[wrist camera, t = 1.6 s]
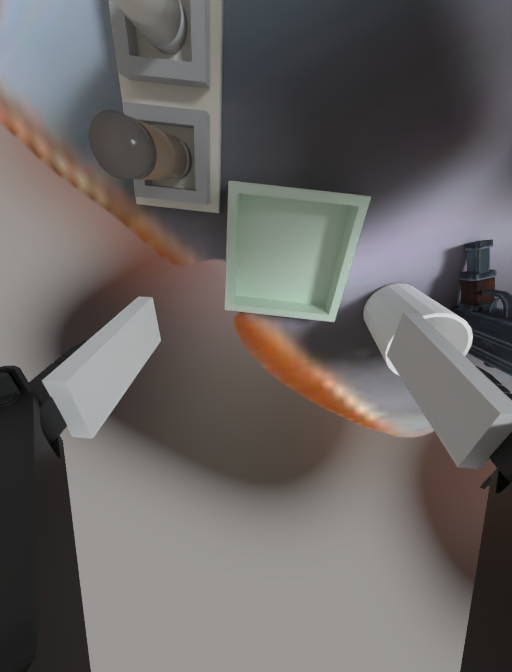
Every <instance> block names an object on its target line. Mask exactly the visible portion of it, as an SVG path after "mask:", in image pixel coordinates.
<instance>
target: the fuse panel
mask: <svg viewBox="0 0 512 672" xmlns="http://www.w3.org/2000/svg"><path fill="white" fill-rule="evenodd" d="M180 2H181V4H182V6H183V8H184V11H185V14H186V18H187V36H186V40H185V43H184V45H183V46H182V48H181V49H180V50H179V51H178V52H176V53H174V54H164V53H162V52H160V51H159V50H157V49H156V48H155V47H154V45H153V44H152V43H151V42H150V41H149V40H148V39H147V38H146V37H145V36H144V35H143V34H142V33H141V32H140V31H139V30H138V29H137V28H136V26H135V25H134V24H133V23H132V22H131V21H130V20H129V19H128V18H127V17H126V15H125V14H124V13H123V12H122V11H121V10H120V9H119V8H118V7H117V5H116V4H115V3H114V2H113V1H112V0H108V3H109V10H110V18H111V25H112V32H113V39H114V46H115V53H116V61H117V68H118V75H119V82H120V89H121V96H122V103H123V111H124V114H125V115H127V116H130V117H133V118H136V119H138V120H140V121H142V122H145V123H147V124H149V125H152V126H154V127H156V128H158V129H161V130H163V131H165V132H167V133H170V134H172V135H174V136H175V137H177V138H179V139H181V140H182V141H183V142H184V143H185V144H186V145H187V146H188V148H189V150H190V153H191V157H192V166H191V169H190V172H189V173H188V174H187V175H186V176H185V177H184V178H182V179H174V180H133V182H134V189H135V197H136V204H140V205H149V206H158V207H167V208H176V209H185V210H194V211H203V212H212V213H220V189H221V128H222V67H223V6H224V0H180Z"/></svg>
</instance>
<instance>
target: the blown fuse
mask: <svg viewBox="0 0 512 672" xmlns="http://www.w3.org/2000/svg"><path fill="white" fill-rule="evenodd" d="M89 136H90V144H91V148H92V151H93V154H94V156H95V158H96V159H97V161H98V163H99V164H100V165H101V166H102V168H103V169H104V170H105V171H107V172H108V173H109V174H111V175H112V176H114V177H116V178H119V179H133V180H174V179H182V178H184V177H185V176H186V175H187V174H188V173H189V172H190V169H191V166H192V157H191V153H190V150H189V148H188V146H187V145H186V144H185V143H184V142H183V141H182V140H181V139H179V138H177V137H175V136H174V135H172V134H170V133H167V132H165V131H163V130H161V129H158V128H156V127H154V126H152V125H149V124H147V123H145V122H142V121H140V120H138V119H136V118H133V117H130V116H127V115H125V114H122V113H120V112H117V111H113V110H107V111H103V112H101V113H99V114H98V115H97V116H96V117H95V118H94V119H93V121H92V124H91V127H90V134H89Z"/></svg>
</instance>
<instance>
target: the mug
mask: <svg viewBox="0 0 512 672" xmlns="http://www.w3.org/2000/svg"><path fill="white" fill-rule="evenodd" d="M403 312H411V313H419V314H420V315H421V316H422V317H423V318H424V319H425V320H426V321H428V322H429V323H430V324H431V325H432V326H433V327H434V328H435V329H436V330H437V331H438V332H439V333H440V334H441V335H442V336H444V337H445V338H446V339H447V340H448V341H449V342H450V343H451V344H452V345H453V346H454V347H455V348H456V349H457V350H458V351H460V352H461V353H462V354H463V355H464V356H466V355H467V353H468V351H469V349H470V347H471V345H472V340H473V334H472V329H471V327H470V325H469V324H468V323H467V321H466V320H464V319H463V318H461V317H460V316H458V315H456V314H455V313H453V312H452V311H450V310H449V309H447V308H445V307H444V306H442V305H441V304H439V303H438V302H436V301H435V300H433V299H431V298H430V297H428V296H427V295H425V294H424V293H422V292H421V291H419V290H417V289H416V288H414V287H413V286H411V285H409V284H405V283H394V284H390V285H386V286H384V287H382V288H380V289H378V290H377V291H376V292H374V293H373V294H372V295H371V296H370V298H369V299H368V300H367V302H366V304H365V306H364V310H363V319H364V321H365V323H366V325H367V327H368V329H369V331H370V333H371V335H372V337H373V339H374V341H375V343H376V344H377V346H378V348H379V350H380V352H381V354H382V356H383V358H384V360H385V362H386V364H387V366H388V367H389V368H390V369H391V370H392V371H393V372H394V373H395V374H397V375H399V374H398V372H397V371H396V369H395V368H394V366H393V364H392V363H391V361H390V360H389V358H388V357H387V353H388V351H389V348H390V345H391V343H392V340H393V338H394V335H395V332H396V330H397V327H398V324H399V322H400V319H401V317H402V314H403ZM399 376H400V375H399Z"/></svg>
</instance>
